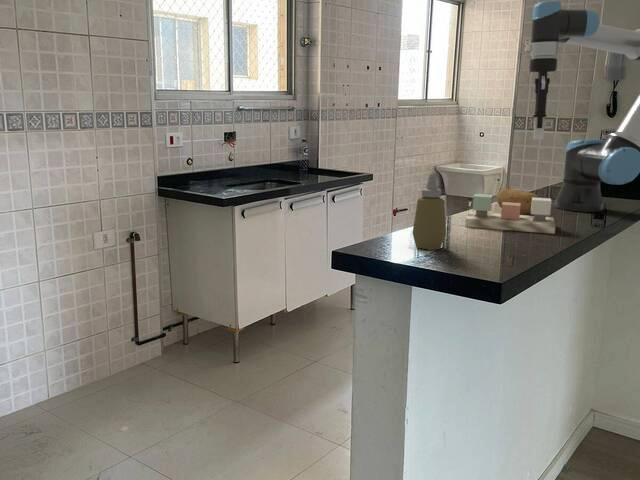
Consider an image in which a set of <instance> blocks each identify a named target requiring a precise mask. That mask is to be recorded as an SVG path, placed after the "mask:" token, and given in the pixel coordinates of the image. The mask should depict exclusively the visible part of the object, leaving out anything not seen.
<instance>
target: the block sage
mask: <svg viewBox="0 0 640 480" xmlns="http://www.w3.org/2000/svg"><path fill="white" fill-rule="evenodd" d="M492 204H493V194H483V193H475V194H473V199H472V210H473V211H475V212H476V217H487V213H488V212H491V210H492Z"/></svg>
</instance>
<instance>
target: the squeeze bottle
mask: <svg viewBox="0 0 640 480" xmlns="http://www.w3.org/2000/svg"><path fill="white" fill-rule="evenodd" d="M428 177H429V178H428V180H427V182H426V183H427V184H426V187H424V188H422V189H421V197H418V199H417V200H416V208H415V212H414V213H415V215H414V220H413V221H414V222H413V228H412V237H413V240H414V244H415V247H416V248H417V247H418V248H417V249H420V248H422V249H421V250H424V249H427V251H436V250H439V248H440V249H441V248H442V245H443V242H444V240H445V238H446V234H447V231H446V207H445V204H446V203H445V200H444V199H443V198H442V189H440V188H438V186H437V181H436V180H437V178H436V174H435V173H429V176H428ZM435 249H436V250H435Z"/></svg>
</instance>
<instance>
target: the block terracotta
mask: <svg viewBox="0 0 640 480" xmlns="http://www.w3.org/2000/svg"><path fill="white" fill-rule="evenodd" d="M520 206H521V203H511V202H502V208H501V213H500V214H501V218H502V219H515V220H519V216H520Z"/></svg>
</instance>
